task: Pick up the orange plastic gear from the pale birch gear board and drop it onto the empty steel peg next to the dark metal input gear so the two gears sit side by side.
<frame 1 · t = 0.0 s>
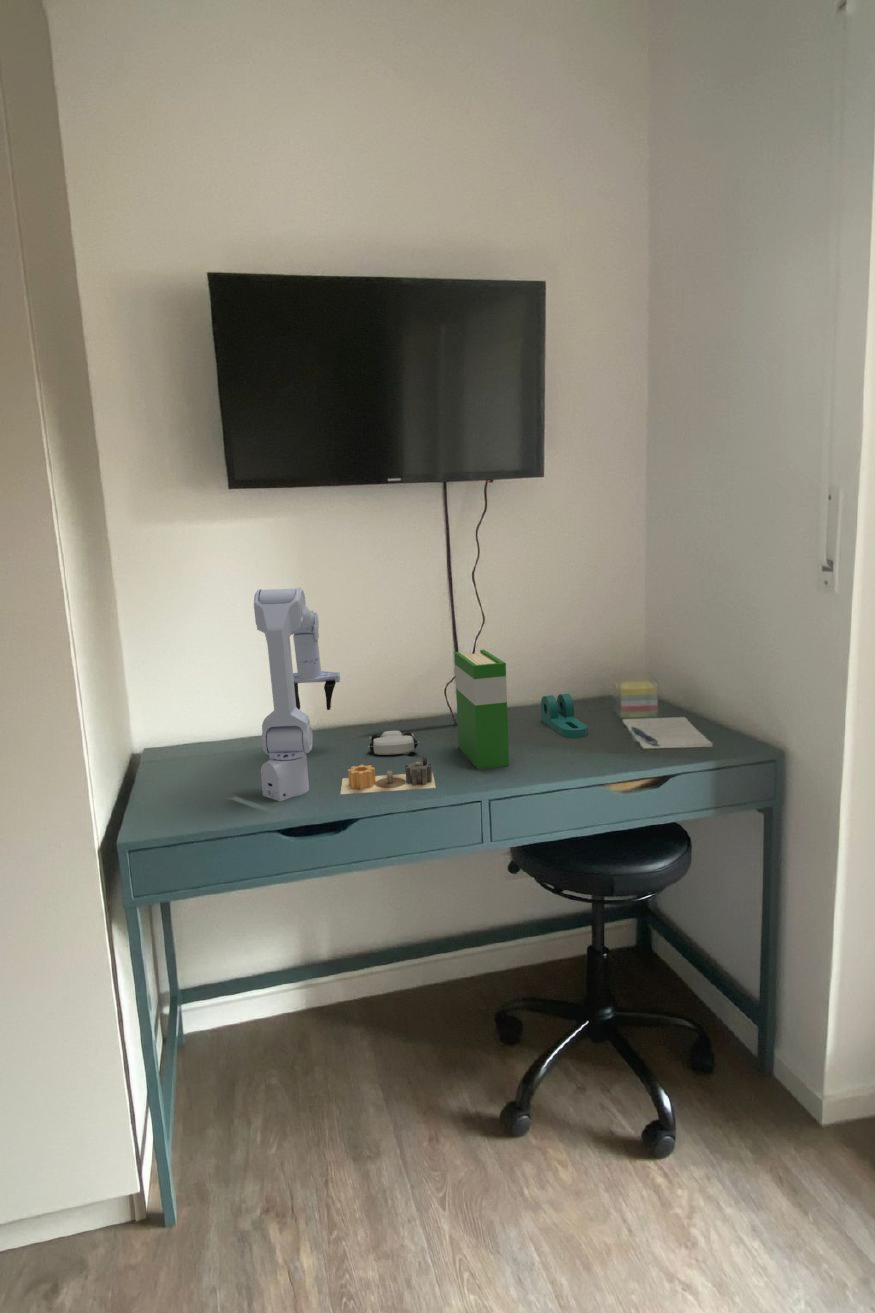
hand: (313, 709, 204), 11 cm above the table, tool pointing down, fingers open, 7 cm apart
orange gear: (362, 784, 176), point 1 cm above the table, touching gear board
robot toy: (393, 752, 202), on the table
bracket: (565, 729, 214), on the table
gear board: (388, 787, 177), on the table
hardback book: (482, 757, 194), on the table
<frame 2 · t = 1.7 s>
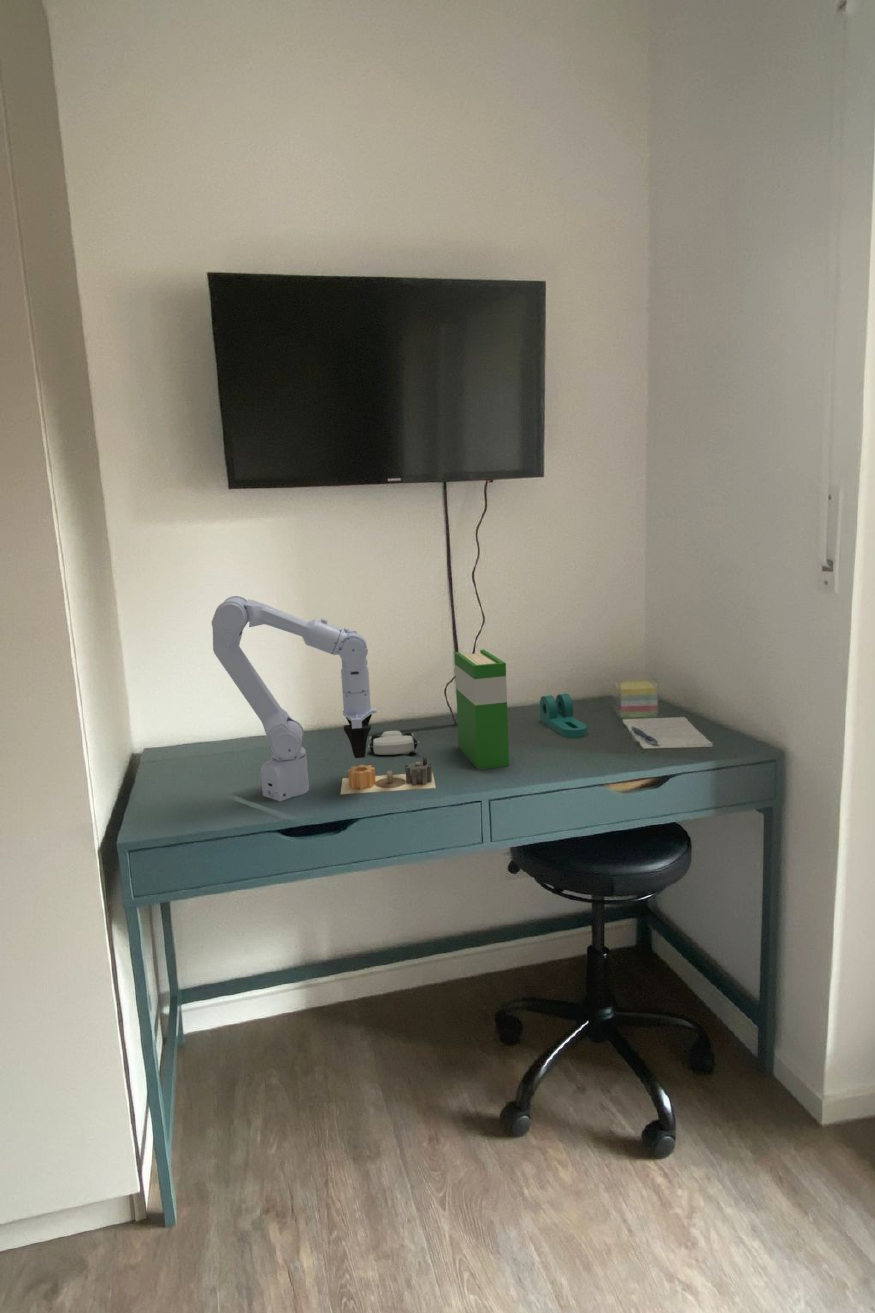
hand: (360, 751, 175), 8 cm above the table, tool pointing down, fingers open, 7 cm apart
nothing on the table moved.
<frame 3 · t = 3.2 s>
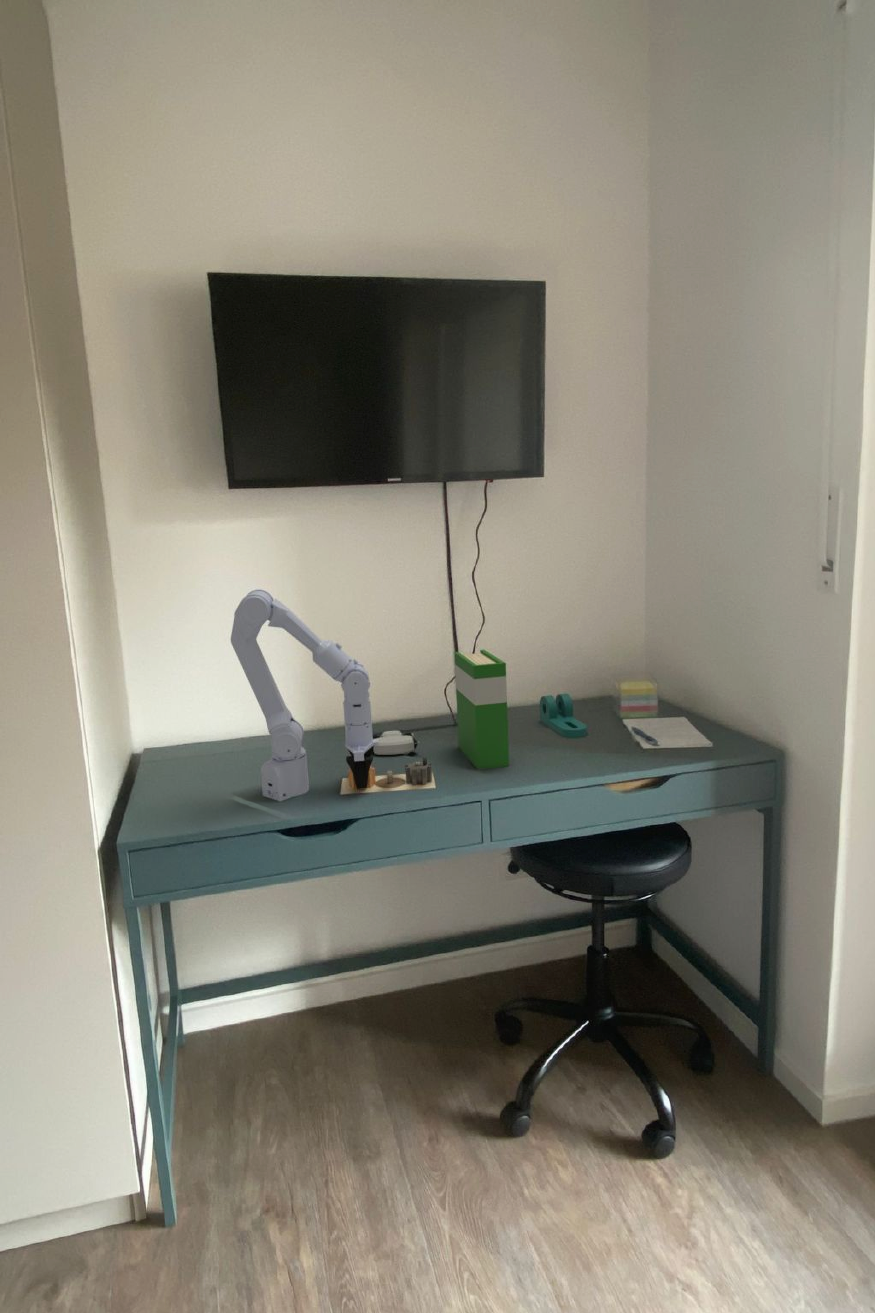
hand: (362, 782, 176), 1 cm above the table, tool pointing down, fingers closed on orange gear, 6 cm apart
orange gear: (362, 784, 176), point 1 cm above the table, touching gear board, gripper
everything else where it was.
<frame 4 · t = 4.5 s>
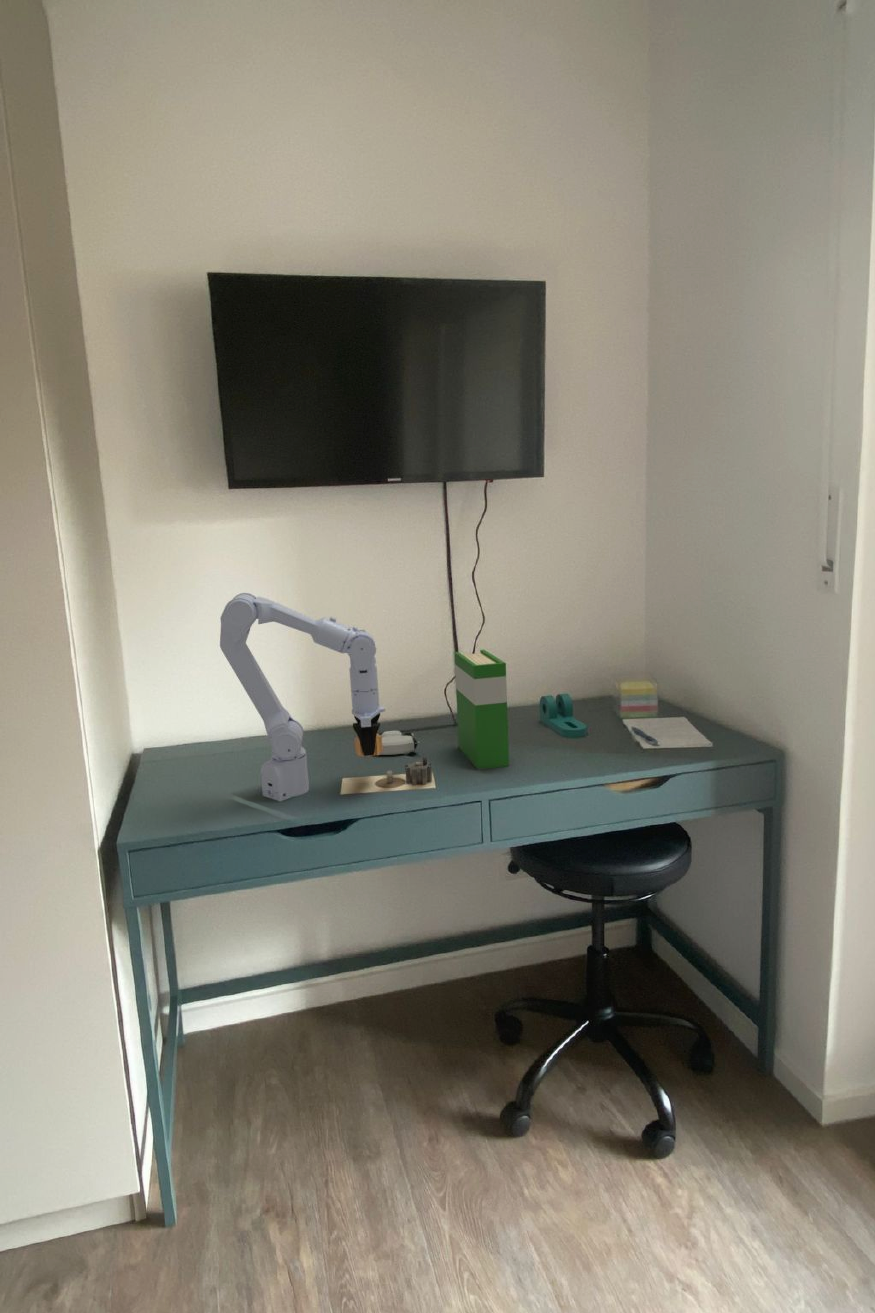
hand: (369, 750, 175), 9 cm above the table, tool pointing down, fingers closed on orange gear, 6 cm apart
orange gear: (369, 752, 175), point 8 cm above the table, touching gripper
everything else where it was.
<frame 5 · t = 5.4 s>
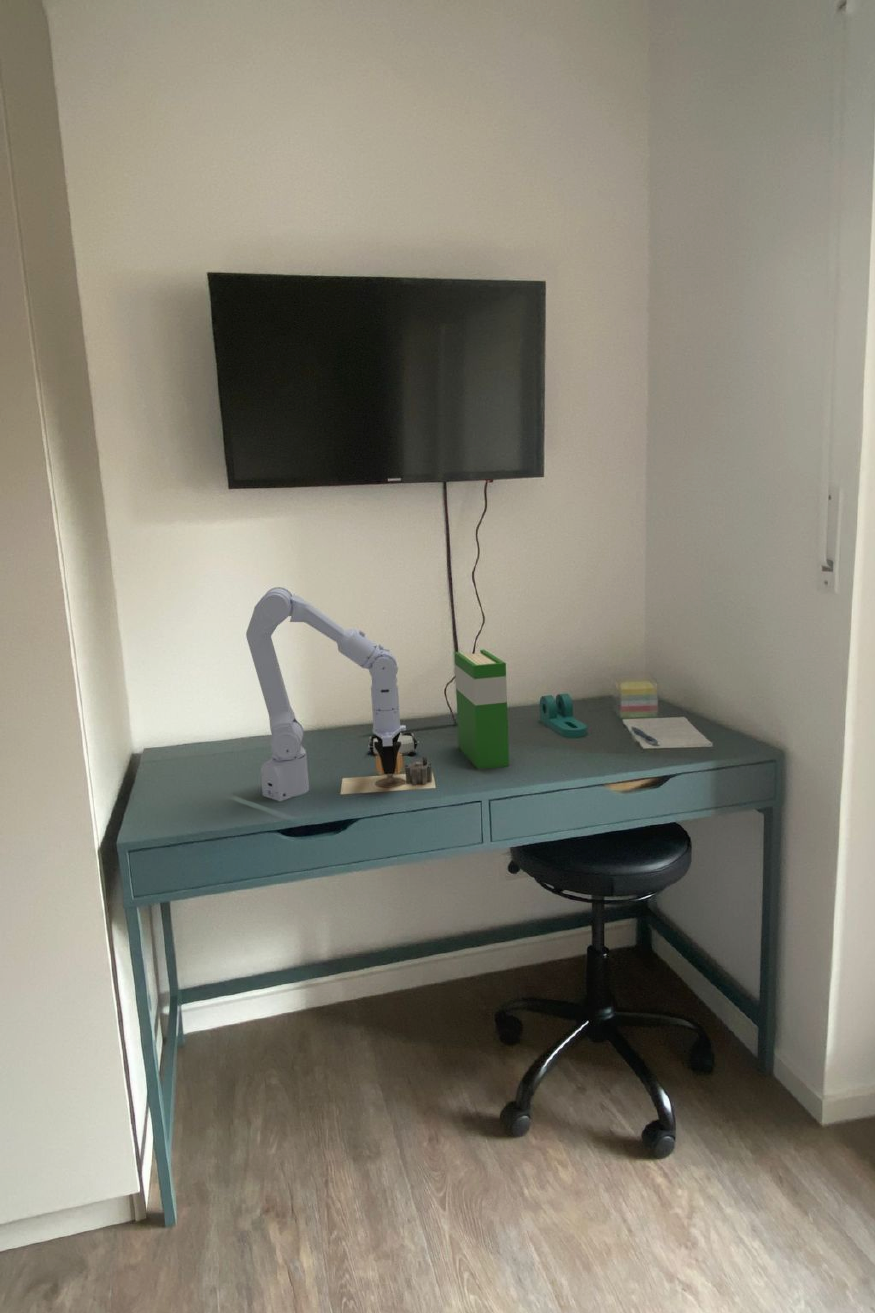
hand: (389, 768, 176), 4 cm above the table, tool pointing down, fingers closed on orange gear, 6 cm apart
orange gear: (389, 770, 176), point 4 cm above the table, touching gripper
everything else where it was.
when the fingers open (3 cm above the table, at t = 6.2 s): orange gear drops 1 cm, resting on gear board.
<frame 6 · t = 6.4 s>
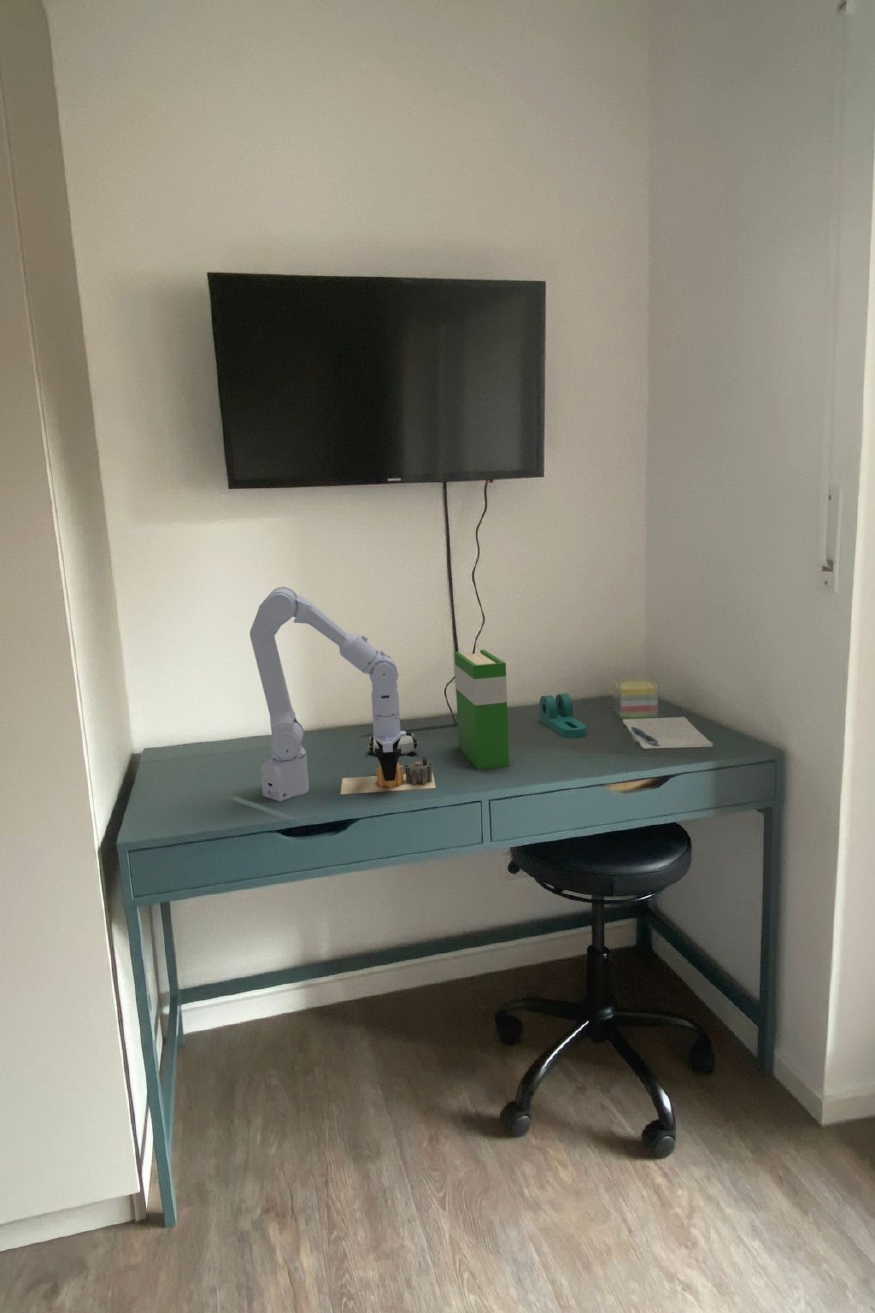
hand: (389, 774, 176), 3 cm above the table, tool pointing down, fingers open, 7 cm apart
orange gear: (390, 782, 176), point 1 cm above the table, touching gear board
everything else where it was.
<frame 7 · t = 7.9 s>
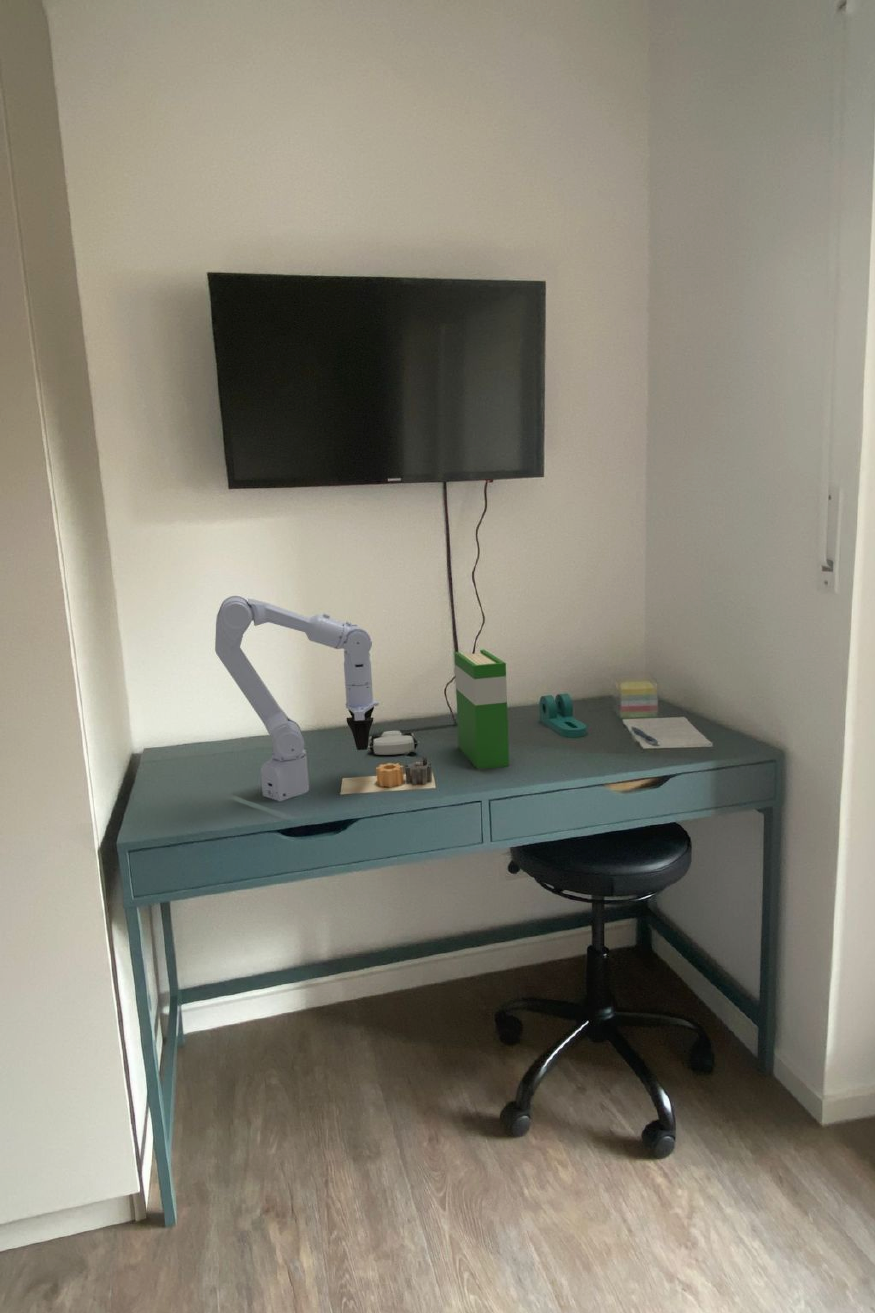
hand: (362, 744, 177), 9 cm above the table, tool pointing down, fingers open, 7 cm apart
nothing on the table moved.
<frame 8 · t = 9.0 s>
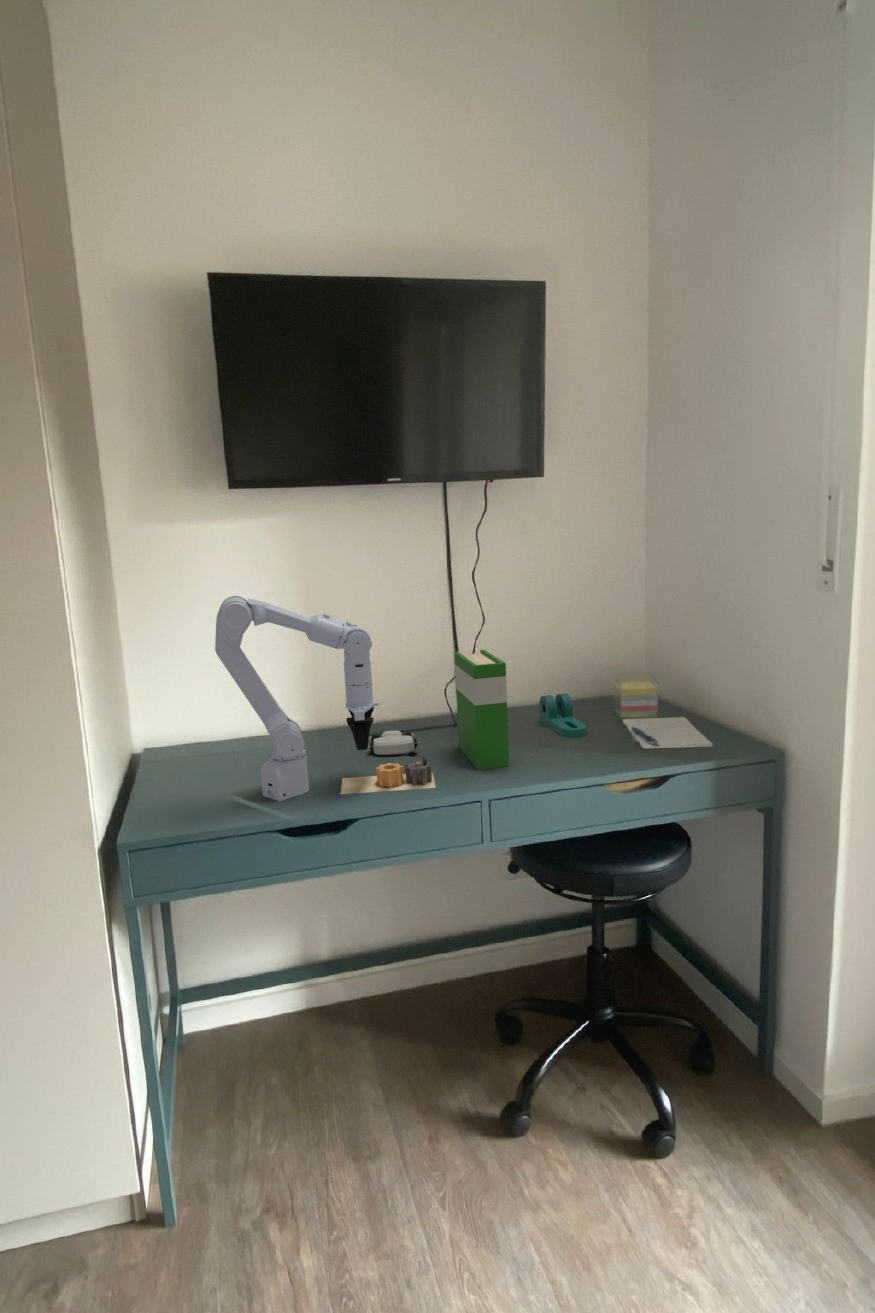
hand: (362, 744, 177), 9 cm above the table, tool pointing down, fingers open, 7 cm apart
nothing on the table moved.
at the end: orange gear 0.1 cm off-centre on the gear board, point 1.0 cm above the gear board's base; orange gear tilted 0°; the gripper is holding nothing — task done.
